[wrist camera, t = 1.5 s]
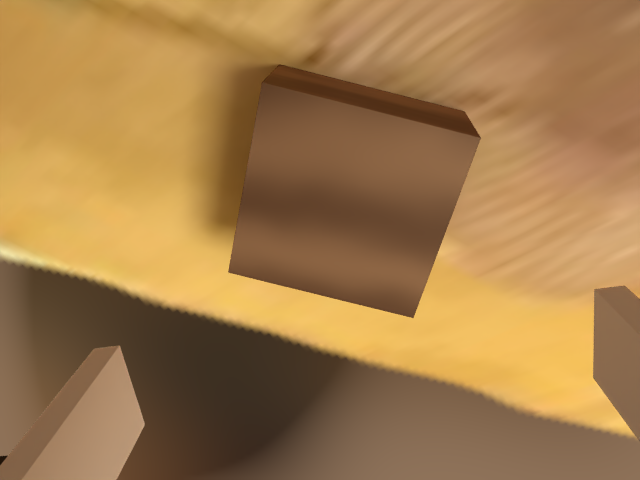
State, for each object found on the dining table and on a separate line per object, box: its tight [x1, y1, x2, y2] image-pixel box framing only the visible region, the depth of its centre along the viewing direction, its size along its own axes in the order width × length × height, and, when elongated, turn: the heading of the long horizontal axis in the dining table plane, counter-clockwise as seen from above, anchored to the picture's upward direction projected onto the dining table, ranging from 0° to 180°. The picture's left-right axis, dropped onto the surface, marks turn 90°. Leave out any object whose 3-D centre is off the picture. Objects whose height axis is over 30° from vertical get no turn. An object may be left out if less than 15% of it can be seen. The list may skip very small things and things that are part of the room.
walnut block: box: [228, 65, 481, 318], centre depth 35 cm, size 12×12×6 cm
